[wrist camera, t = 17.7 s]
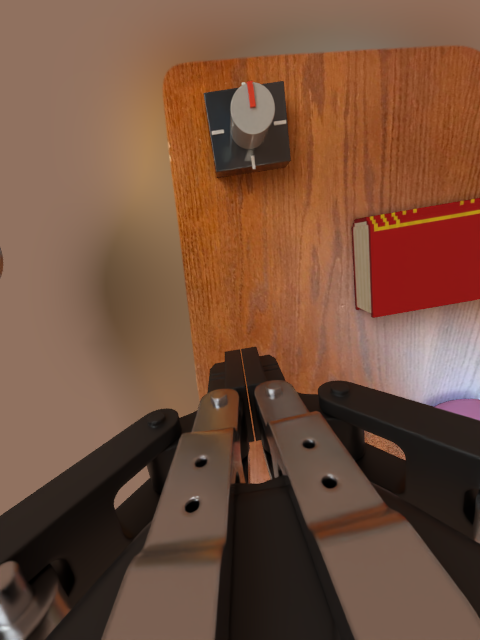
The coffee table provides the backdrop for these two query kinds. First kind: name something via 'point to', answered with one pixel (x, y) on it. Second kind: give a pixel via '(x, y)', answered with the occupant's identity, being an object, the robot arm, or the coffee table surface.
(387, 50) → the coffee table surface
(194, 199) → the coffee table surface
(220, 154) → the panel
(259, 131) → the burner knob
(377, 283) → the book
